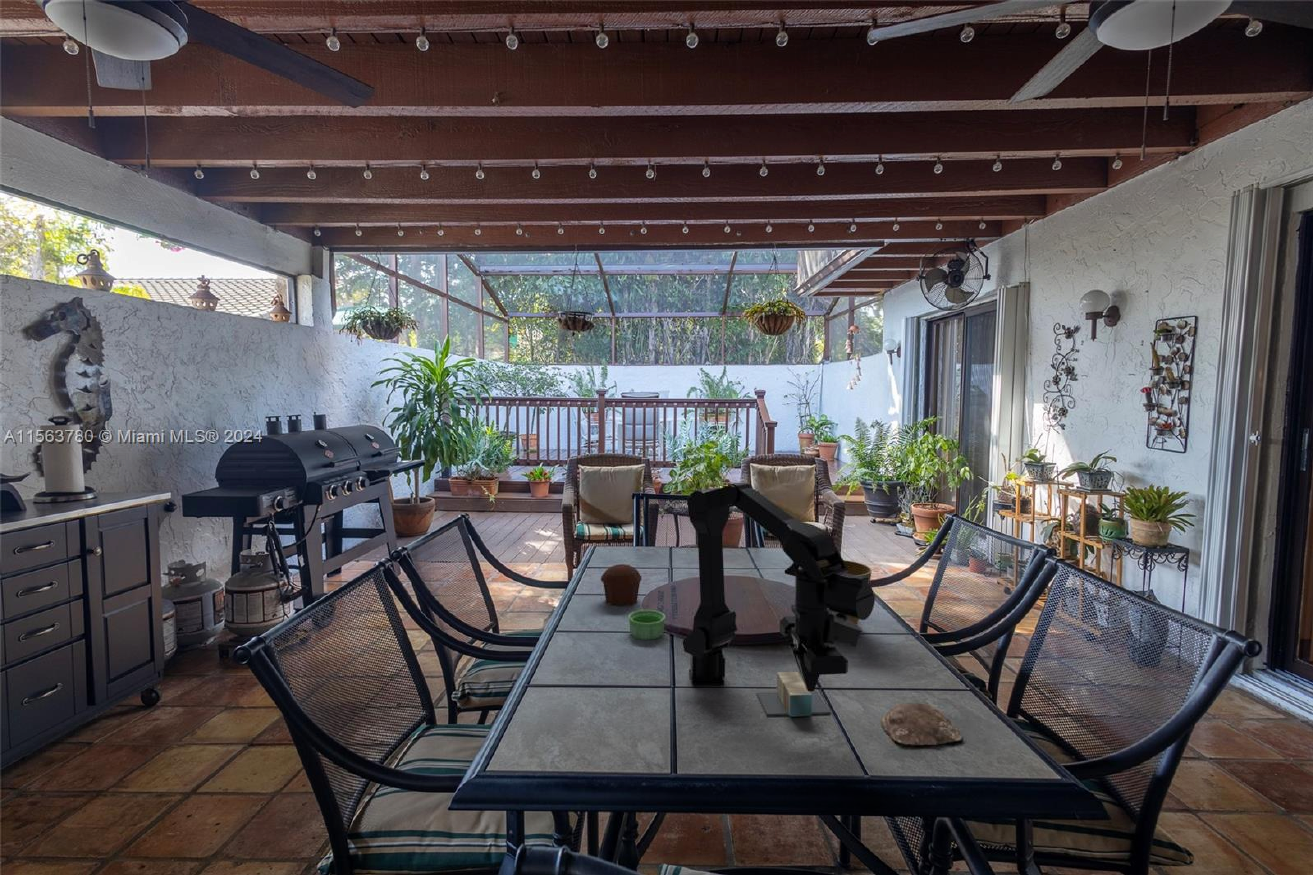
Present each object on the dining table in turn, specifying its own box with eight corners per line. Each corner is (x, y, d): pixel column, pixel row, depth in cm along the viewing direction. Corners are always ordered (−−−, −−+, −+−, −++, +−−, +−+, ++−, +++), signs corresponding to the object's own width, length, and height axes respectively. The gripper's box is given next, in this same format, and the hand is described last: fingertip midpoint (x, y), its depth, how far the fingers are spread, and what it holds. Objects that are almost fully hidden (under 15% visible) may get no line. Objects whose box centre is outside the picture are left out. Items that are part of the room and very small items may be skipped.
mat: (766, 716, 113) (766, 714, 112) (756, 694, 120) (756, 692, 120) (830, 714, 113) (830, 712, 113) (816, 692, 121) (816, 690, 121)
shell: (868, 714, 114) (869, 695, 114) (934, 712, 115) (934, 693, 115) (897, 750, 103) (898, 730, 102) (970, 747, 104) (971, 727, 103)
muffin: (624, 591, 180) (625, 558, 180) (649, 601, 172) (650, 566, 171) (592, 600, 172) (592, 565, 172) (616, 611, 164) (617, 575, 163)
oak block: (790, 695, 111) (777, 672, 120) (789, 716, 112) (776, 692, 121) (812, 694, 112) (797, 672, 121) (811, 715, 112) (796, 691, 121)
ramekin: (664, 641, 145) (665, 623, 145) (627, 641, 146) (627, 623, 145) (665, 626, 154) (665, 609, 154) (629, 626, 154) (629, 609, 154)
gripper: (880, 622, 98) (878, 716, 99) (836, 585, 116) (835, 665, 117) (812, 624, 97) (810, 719, 98) (779, 587, 115) (778, 667, 116)
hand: (810, 690), depth 107 cm, fingers closed
